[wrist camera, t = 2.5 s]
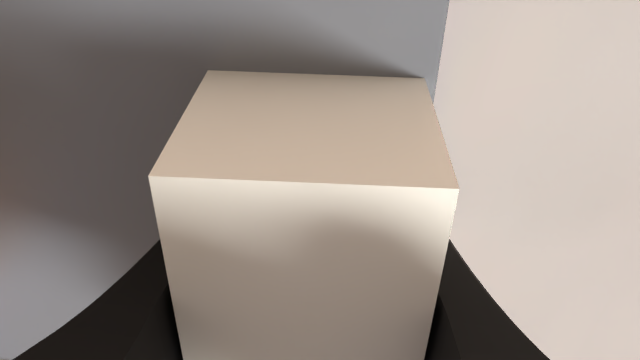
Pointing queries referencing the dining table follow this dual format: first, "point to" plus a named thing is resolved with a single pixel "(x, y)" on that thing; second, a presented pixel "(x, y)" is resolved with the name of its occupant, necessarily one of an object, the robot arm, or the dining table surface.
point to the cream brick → (305, 217)
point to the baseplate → (144, 119)
